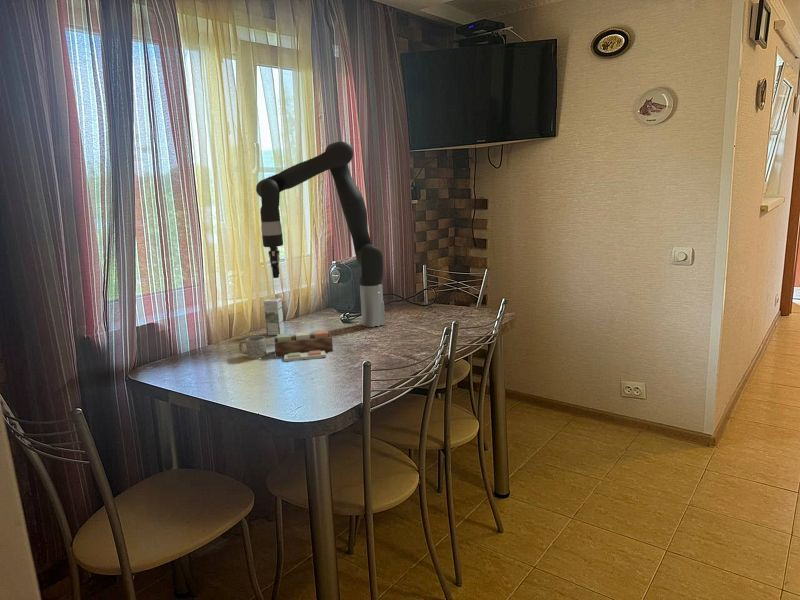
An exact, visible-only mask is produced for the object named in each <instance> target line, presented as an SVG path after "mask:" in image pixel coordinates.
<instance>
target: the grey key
mask: <svg viewBox="0 0 800 600" xmlns="http://www.w3.org/2000/svg"><path fill="white" fill-rule="evenodd" d="M310 334H311V333H310V331H308V330H307V331H298V332H295V336H296V340H305V339H310Z"/></svg>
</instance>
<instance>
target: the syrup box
mask: <svg viewBox="0 0 800 600" xmlns="http://www.w3.org/2000/svg"><path fill="white" fill-rule="evenodd" d="M263 307H264V318H265V320H264V321H265V327H266V335H267V336H272V337H273V336H274V337H275V336H277V334H282V333H283V334H285V327H284V326H285V325H284V324H285V323H284V316H283V314H284V313H283V303H282V297H271V298H269V297H268V298H267V297H266V299H264V300H263Z"/></svg>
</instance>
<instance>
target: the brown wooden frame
mask: <svg viewBox="0 0 800 600" xmlns="http://www.w3.org/2000/svg"><path fill="white" fill-rule="evenodd" d="M291 340H292V341H285V342H278V340H277V336H276V337H275V336H274V353H275V358H280V357H281V356H282V357H284V355H287V354H289V353H297V352H300V353H306V352H309V351H317V350H321V351H325V353H330V351H331V352H334V348H333V347H334V346H333V337H332V334H331V332H330V331H328V337H326V338H314V333H310V339H305V340H296V335H291ZM282 357H281V358H282Z"/></svg>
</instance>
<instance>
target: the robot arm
mask: <svg viewBox="0 0 800 600" xmlns="http://www.w3.org/2000/svg"><path fill="white" fill-rule="evenodd" d="M353 157H354V150H353V148H352V146H351V145H350V144H349V143H348V142H345V141H335V142H333V143H330V144H328V145H327V146H326V148H325V151H324V152H322V153H321V154H318V155H317V156H316V155H315V157H311V158H310V159H307V160H304V161H302V162H298V163H296V164H293V165H292V166H290V167H288V168H286V169H283V170H281V171H279V173H276V174H273V175H271V176H268V177H266V178H264V179H262V180H260V181H258V182H257V184H256V186H255V191H256V194H257V195H258V196H259V197H260V198H261V199H260V200H261V207H260V211H259V212H260V223H261V224H260V225H261V228H260V229H261V230H260V231H261V237H262V238H261V239H262V246H263V247H265V248H269V250H268V257H269V263H270V268H271V271H272V272H271V273H272V278H273V279H278V278H280V254H281V253H280V250H279V248H278V247H282V246H283V245H284V239H283V229H282V228H283V227H282V224H281V215H280V198H281V197H280V196H281V195H280V193H281V192H283V191H286V190H290V189H292V188H295V187H297V186H298V185H300V184H302V183H304V182H307V181H308V180H310V179H312V178H314V177H316V176H318V175H320V174H321V173H323V172H327V171H330V174H331V176H332V178H333V181H334V185H335V187H336V192H337V195H338V198H339V202H340V205H341V209H342V210H341V211H342V213H343V215H344V218H345V222H346V224H347V228H348V230H349V231H348V232H349V233H350V235H351V240H352V244H353V249H354V255H355V258H356V261H357V263H358V265H360V266H361V275H360V277H359V293H360V294H359V295H360V296H359V297H360V308H361V309H360V310H361V312H360V313H361V325H363V327H365V326H366V327H365V328H376V327H375V326H378V327H381V326H380V325H382V326H385V325H386V314H385V313H386V312H385V310H386V309H385V302H384V295H383V294H384V292H383V278H384V258H383V252H382V251H381V248H379V247H378V246H374V245H373V241H372V239H371V237H370V236H371V235H370V233H369V229H368V227H369V226H368V211H367V210H368V209H367V207H366V203H365V200H364V197H363V195H362V193H361V190H360V189H359V188H358V185H357V184H356V183H355V181H354V179H353V177H352V175H351V171H350V168H349V165H348V164H349V163H351V161H352V160H353Z"/></svg>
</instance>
